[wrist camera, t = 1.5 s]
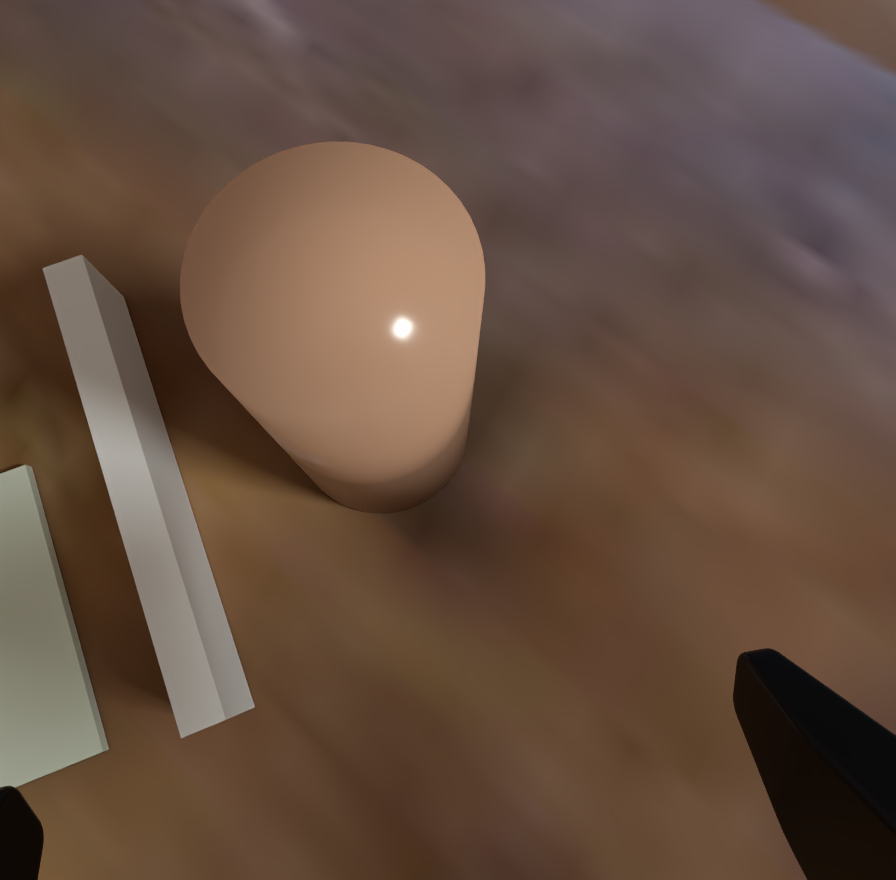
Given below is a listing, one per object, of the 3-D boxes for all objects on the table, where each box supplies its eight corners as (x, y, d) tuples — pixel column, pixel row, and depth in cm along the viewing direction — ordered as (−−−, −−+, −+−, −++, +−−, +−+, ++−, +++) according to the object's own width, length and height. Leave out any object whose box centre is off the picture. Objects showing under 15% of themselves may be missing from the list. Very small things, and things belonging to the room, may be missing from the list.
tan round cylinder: (419, 543, 24) (397, 477, 13) (265, 465, 24) (120, 338, 13) (496, 392, 25) (535, 215, 14) (348, 320, 25) (276, 98, 15)
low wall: (254, 707, 22) (226, 719, 19) (215, 723, 22) (180, 738, 19) (123, 297, 25) (81, 254, 22) (89, 309, 25) (42, 267, 22)
